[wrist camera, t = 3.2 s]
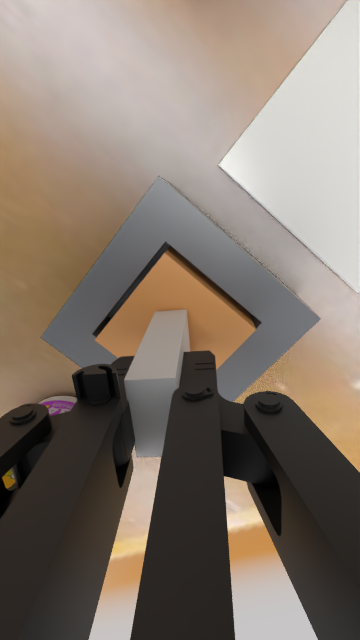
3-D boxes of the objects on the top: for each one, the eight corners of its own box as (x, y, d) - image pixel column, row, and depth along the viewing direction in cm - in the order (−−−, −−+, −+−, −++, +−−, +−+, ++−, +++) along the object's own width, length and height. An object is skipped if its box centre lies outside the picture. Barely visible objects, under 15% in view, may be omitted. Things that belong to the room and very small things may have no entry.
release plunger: (112, 317, 20) (94, 340, 17) (171, 244, 18) (164, 252, 15) (184, 372, 21) (181, 405, 17) (246, 307, 19) (256, 329, 16)
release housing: (71, 311, 22) (40, 337, 18) (168, 182, 19) (158, 175, 15) (190, 401, 24) (187, 444, 19) (296, 295, 21) (320, 318, 16)
